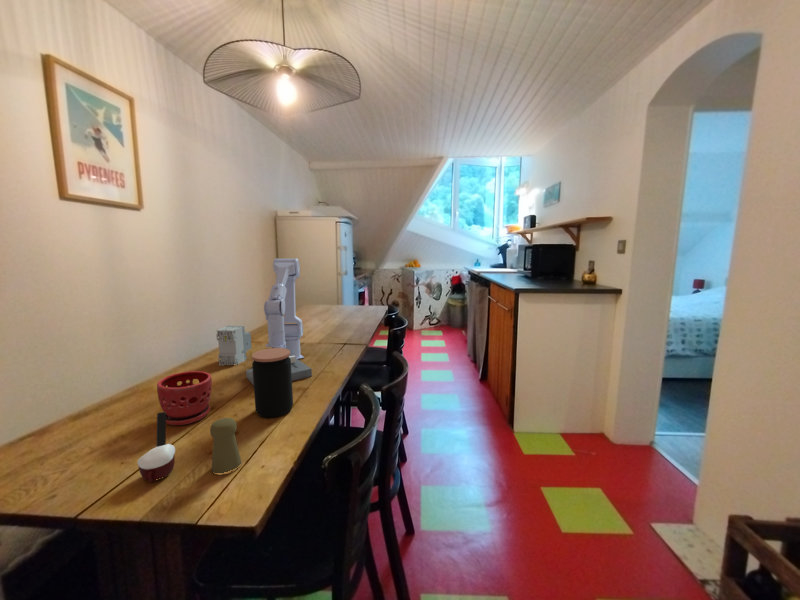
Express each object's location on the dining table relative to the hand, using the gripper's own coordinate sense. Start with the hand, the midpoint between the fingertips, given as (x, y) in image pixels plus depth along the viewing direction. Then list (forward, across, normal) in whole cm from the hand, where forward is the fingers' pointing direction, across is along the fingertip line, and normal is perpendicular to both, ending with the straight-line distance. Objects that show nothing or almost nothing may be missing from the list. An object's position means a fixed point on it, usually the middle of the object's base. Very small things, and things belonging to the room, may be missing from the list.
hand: (278, 366), depth 127 cm
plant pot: (+4, +16, -31) cm, 35 cm away
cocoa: (+4, +40, -39) cm, 56 cm away
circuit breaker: (+4, -30, -8) cm, 32 cm away
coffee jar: (+4, +26, -10) cm, 29 cm away
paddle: (+1, -3, +6) cm, 7 cm away
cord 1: (+4, -10, -6) cm, 13 cm away
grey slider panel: (+4, 0, 0) cm, 4 cm away
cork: (+4, +46, -27) cm, 54 cm away
